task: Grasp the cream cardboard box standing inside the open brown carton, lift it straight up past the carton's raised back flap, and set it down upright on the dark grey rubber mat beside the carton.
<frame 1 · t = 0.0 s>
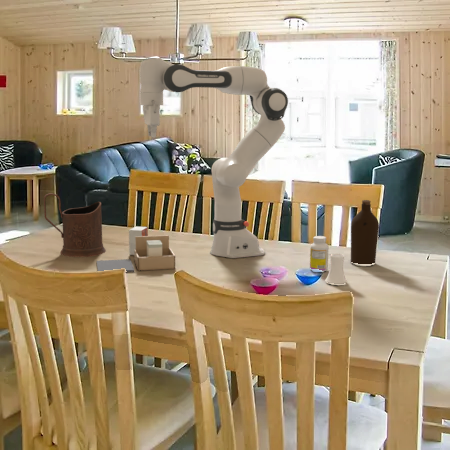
hand: (152, 136, 236), 48 cm above the table, tool pointing down, fingers open, 8 cm apart
carton: (154, 265, 233), on the table
cream box: (154, 253, 232), in the carton
rubber mat: (114, 267, 229), on the table
supplement bottle: (318, 271, 228), on the table
salt shaker: (336, 283, 212), on the table
brown pitcher: (76, 252, 252), on the table
small box: (138, 253, 251), on the table
olive oil: (362, 264, 238), on the table
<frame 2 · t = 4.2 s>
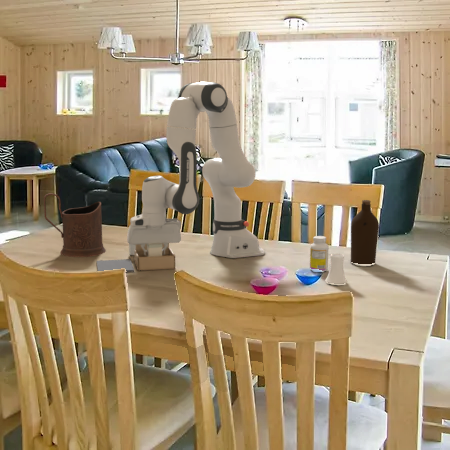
hand: (154, 254, 232), 4 cm above the table, tool pointing down, fingers closed on cream box, 5 cm apart
cream box: (154, 253, 232), in the carton, touching gripper
everything else where it was.
when the fingers open (6 cm above the table, at t = 12.1 s): cream box drops 1 cm, resting on rubber mat.
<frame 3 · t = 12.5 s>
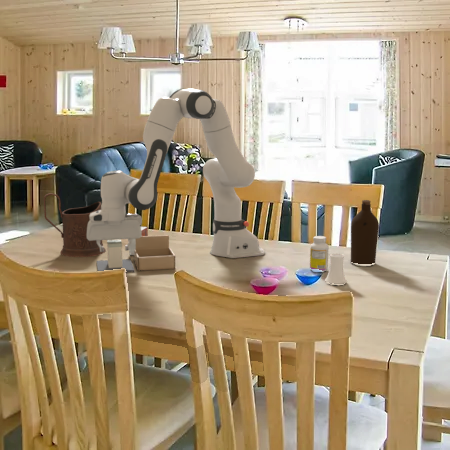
hand: (114, 250, 228), 6 cm above the table, tool pointing down, fingers open, 8 cm apart
cream box: (114, 253, 228), on the rubber mat, point 5 cm above the table
everything else where it was.
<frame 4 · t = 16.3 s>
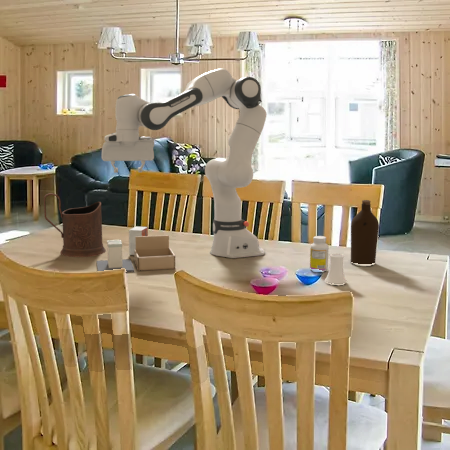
hand: (128, 172, 238), 34 cm above the table, tool pointing down, fingers open, 8 cm apart
nothing on the table moved.
at the end: cream box inside the target area (0.1 cm from its centre), point 5.3 cm above the table; cream box tilted 0°; the gripper is holding nothing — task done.
